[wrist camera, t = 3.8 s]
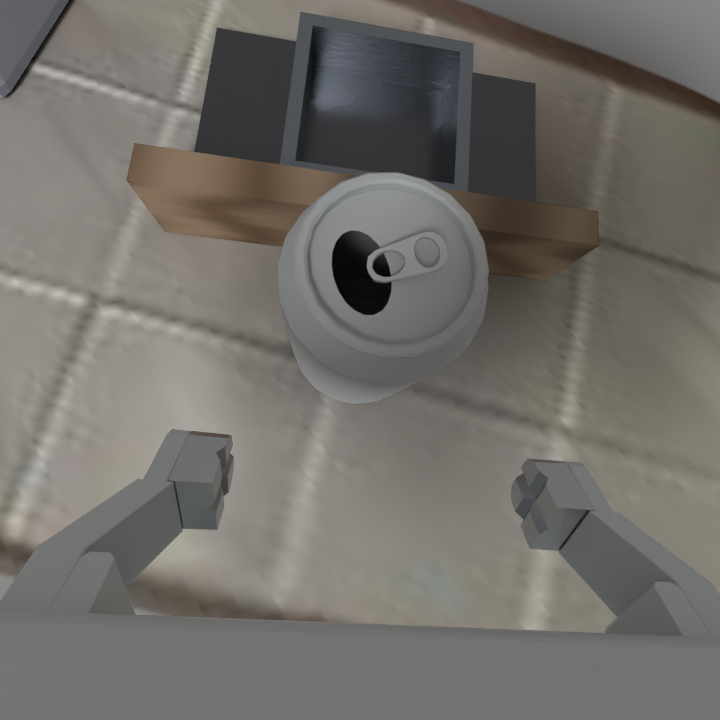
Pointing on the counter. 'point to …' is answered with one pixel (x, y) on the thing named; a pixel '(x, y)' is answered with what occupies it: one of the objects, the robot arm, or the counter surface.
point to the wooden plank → (304, 186)
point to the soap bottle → (23, 35)
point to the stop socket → (369, 107)
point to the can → (381, 285)
